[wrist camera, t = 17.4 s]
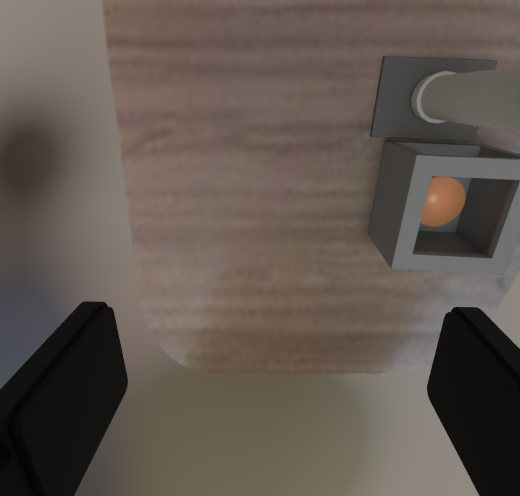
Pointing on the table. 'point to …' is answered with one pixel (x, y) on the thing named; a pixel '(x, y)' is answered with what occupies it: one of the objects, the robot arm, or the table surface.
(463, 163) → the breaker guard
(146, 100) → the table surface
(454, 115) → the grey cylindrical piece
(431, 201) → the button
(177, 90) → the table surface
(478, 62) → the mat
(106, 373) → the robot arm
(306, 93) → the table surface
